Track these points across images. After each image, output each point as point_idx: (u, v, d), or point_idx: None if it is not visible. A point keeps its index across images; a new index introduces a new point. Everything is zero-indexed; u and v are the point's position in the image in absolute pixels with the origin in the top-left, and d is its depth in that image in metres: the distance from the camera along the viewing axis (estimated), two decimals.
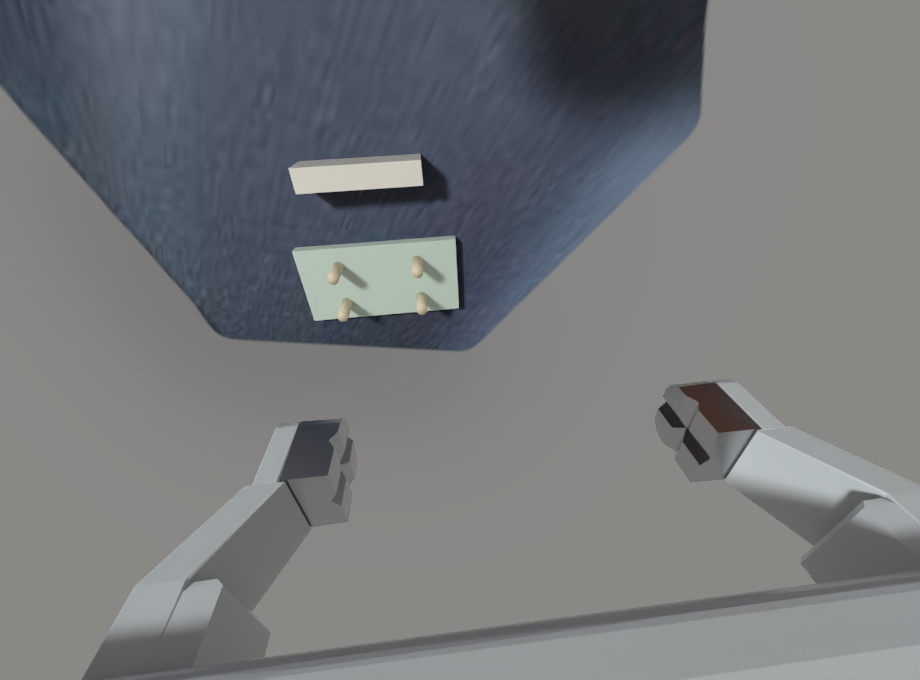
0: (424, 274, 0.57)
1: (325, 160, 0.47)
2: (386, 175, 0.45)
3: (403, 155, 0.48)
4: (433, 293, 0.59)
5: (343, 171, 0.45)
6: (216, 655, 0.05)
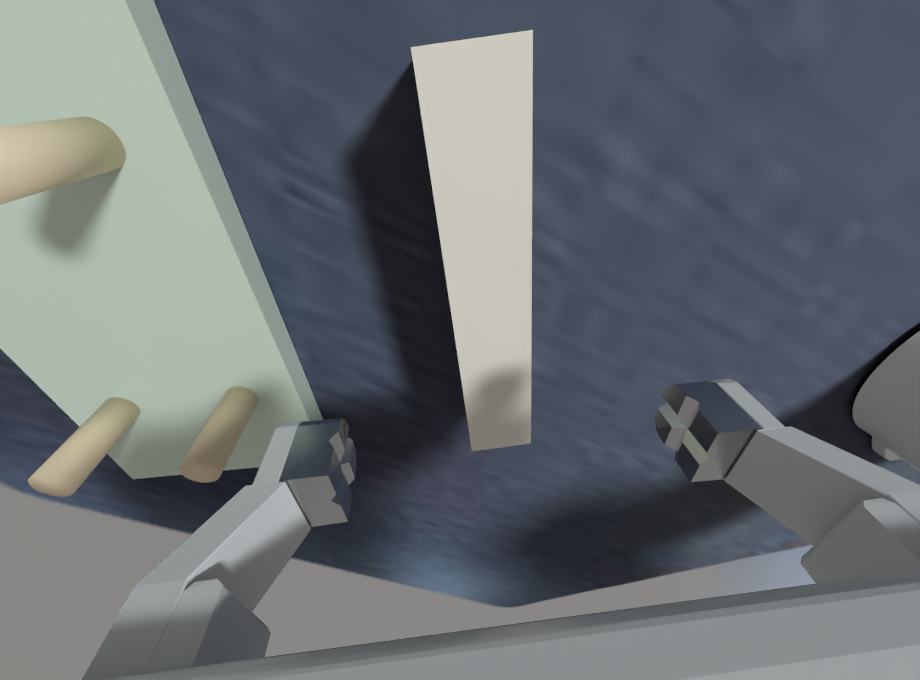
0: (203, 412, 0.20)
1: None
2: (495, 384, 0.16)
3: None
4: (149, 431, 0.20)
5: (512, 271, 0.13)
6: (216, 655, 0.05)
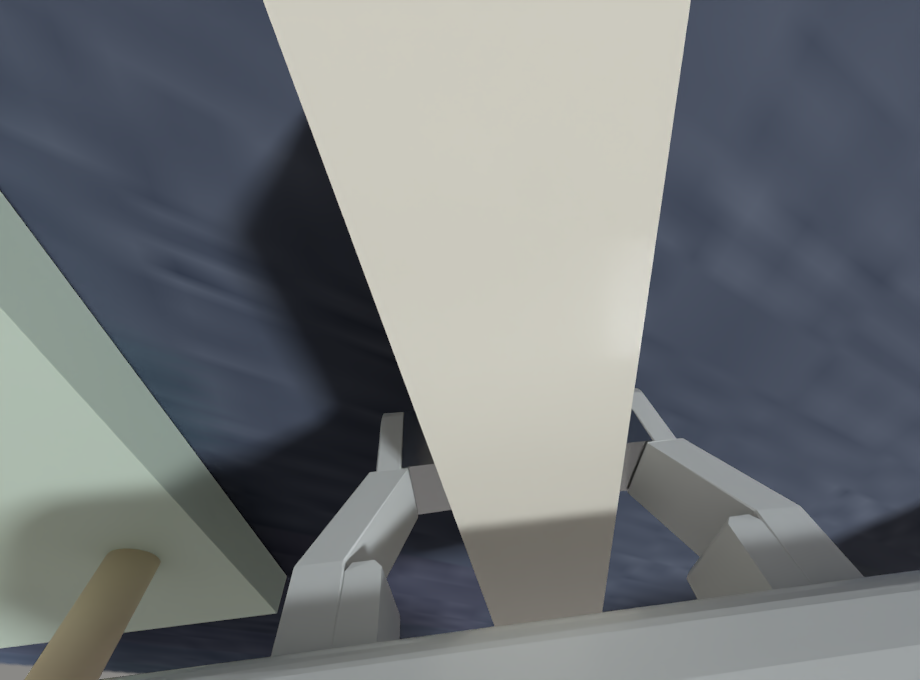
0: (76, 578, 0.13)
1: None
2: (543, 597, 0.09)
3: None
4: None
5: (582, 468, 0.06)
6: (383, 633, 0.05)
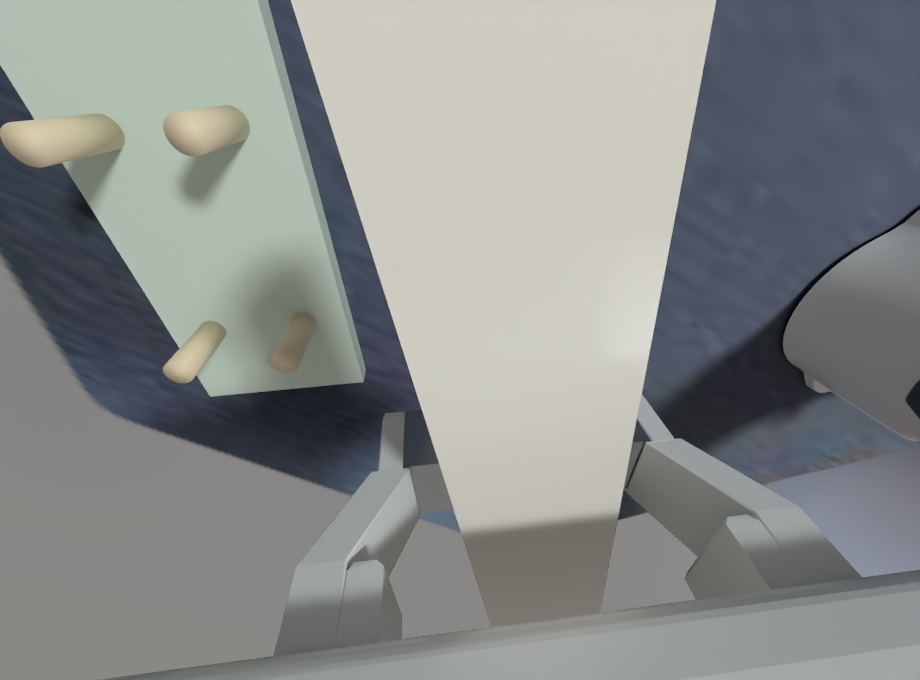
0: (273, 335, 0.26)
1: None
2: (542, 599, 0.09)
3: None
4: (230, 352, 0.26)
5: (586, 470, 0.06)
6: (385, 633, 0.05)
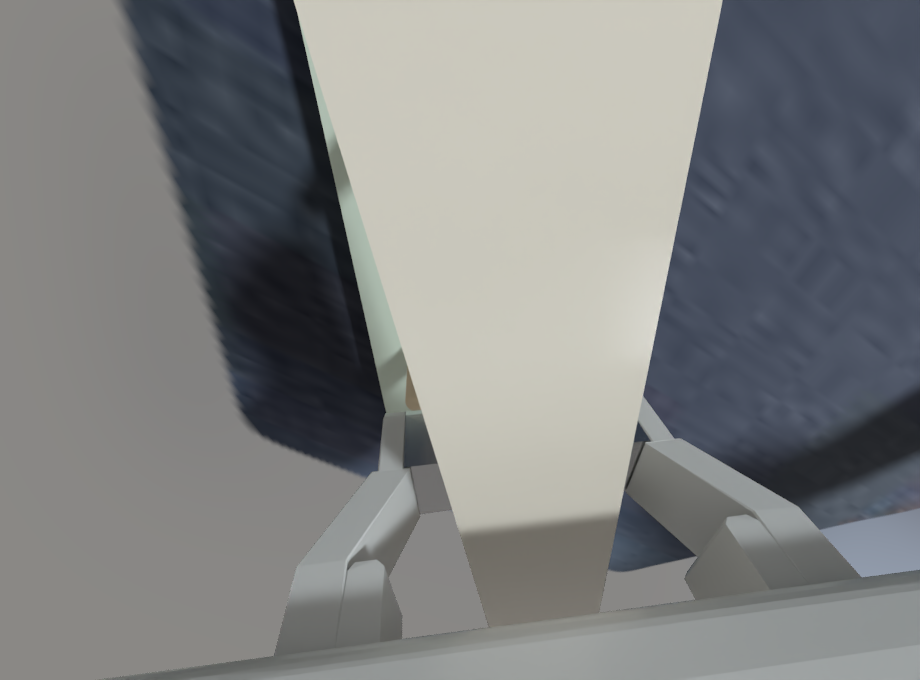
0: None
1: None
2: (540, 601, 0.09)
3: None
4: None
5: (587, 471, 0.06)
6: (385, 633, 0.05)
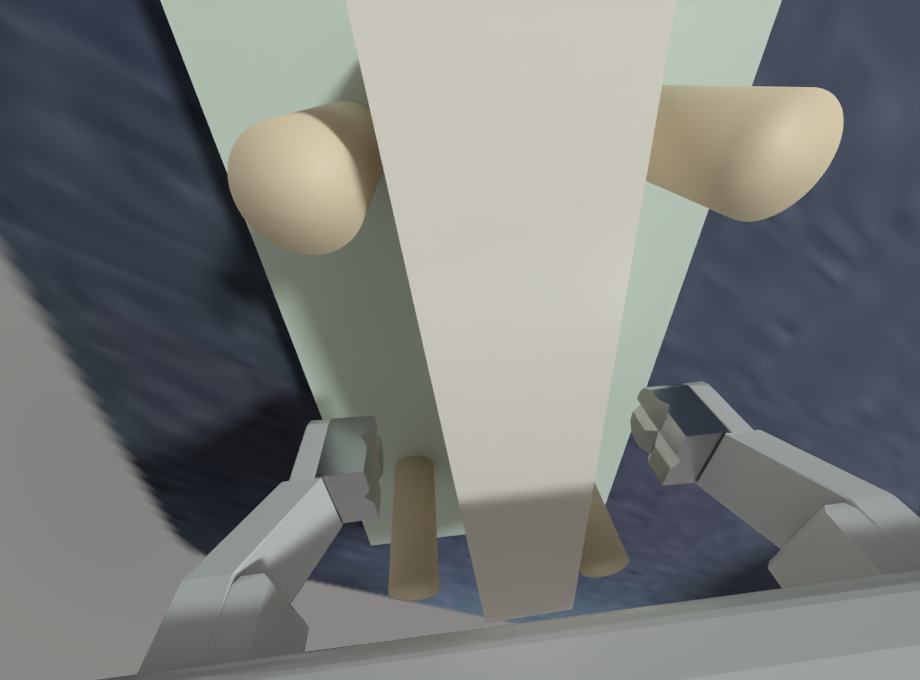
0: None
1: None
2: (525, 558, 0.10)
3: None
4: None
5: (568, 424, 0.07)
6: (265, 649, 0.05)
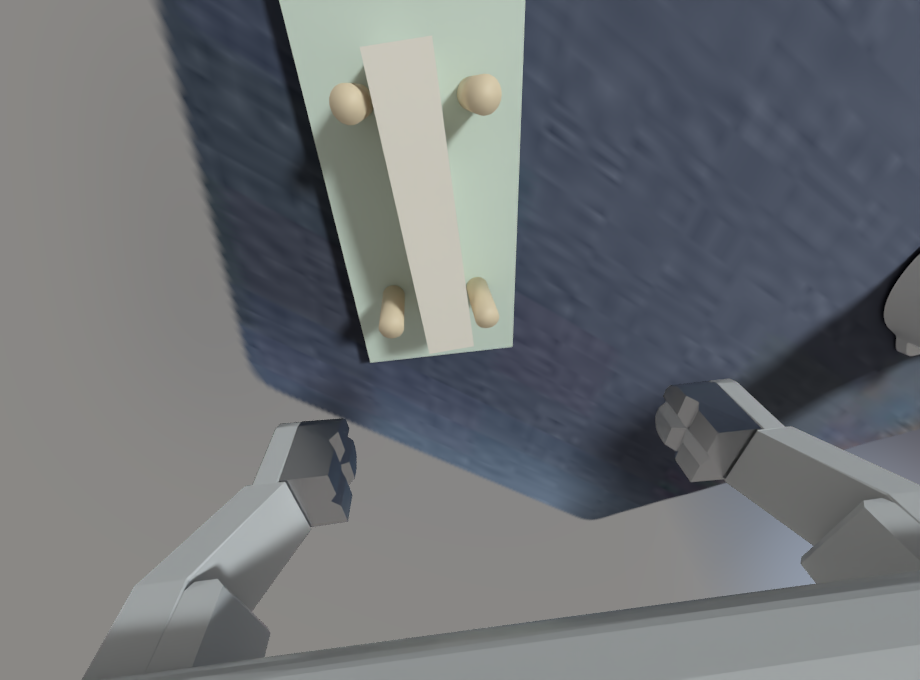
0: None
1: None
2: (440, 291, 0.22)
3: None
4: None
5: (440, 198, 0.19)
6: (216, 655, 0.05)
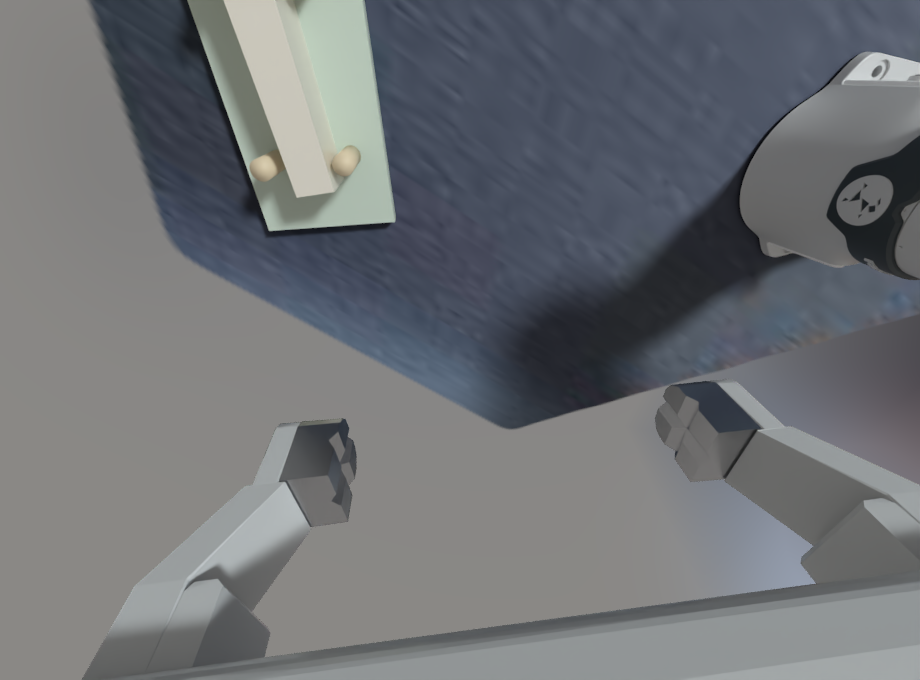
0: None
1: None
2: (293, 131, 0.26)
3: (335, 151, 0.31)
4: (289, 183, 0.32)
5: (274, 35, 0.23)
6: (216, 655, 0.05)
